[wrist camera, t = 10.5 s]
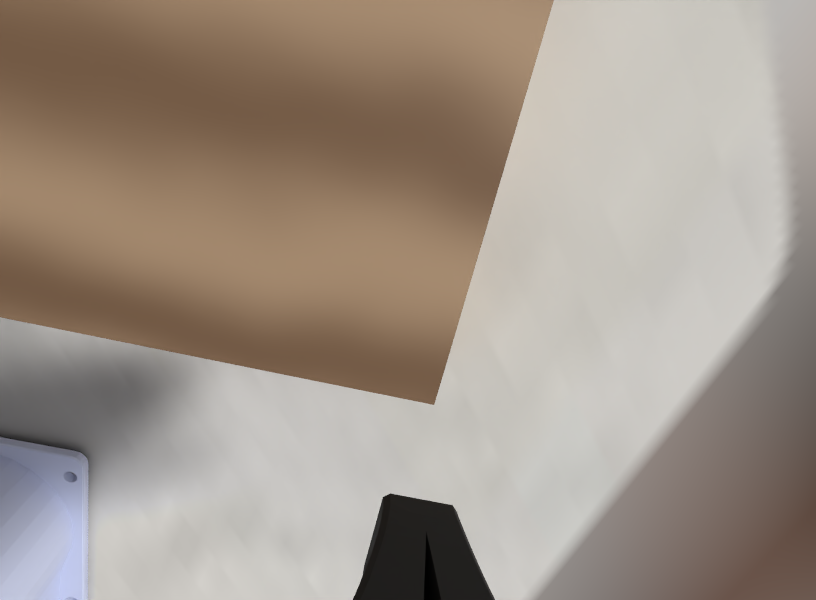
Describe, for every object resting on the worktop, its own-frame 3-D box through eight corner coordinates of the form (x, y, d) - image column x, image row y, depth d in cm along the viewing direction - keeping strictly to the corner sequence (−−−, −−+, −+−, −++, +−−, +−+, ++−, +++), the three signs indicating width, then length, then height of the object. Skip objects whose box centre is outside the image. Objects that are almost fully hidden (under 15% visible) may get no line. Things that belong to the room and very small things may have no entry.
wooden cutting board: (430, 358, 19) (434, 404, 17) (33, 275, 18) (-34, 310, 16) (558, -95, 14) (594, -137, 11) (14, -250, 13) (-92, -338, 10)
